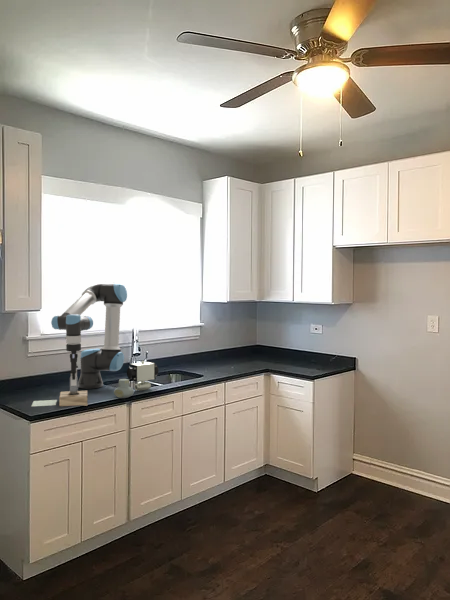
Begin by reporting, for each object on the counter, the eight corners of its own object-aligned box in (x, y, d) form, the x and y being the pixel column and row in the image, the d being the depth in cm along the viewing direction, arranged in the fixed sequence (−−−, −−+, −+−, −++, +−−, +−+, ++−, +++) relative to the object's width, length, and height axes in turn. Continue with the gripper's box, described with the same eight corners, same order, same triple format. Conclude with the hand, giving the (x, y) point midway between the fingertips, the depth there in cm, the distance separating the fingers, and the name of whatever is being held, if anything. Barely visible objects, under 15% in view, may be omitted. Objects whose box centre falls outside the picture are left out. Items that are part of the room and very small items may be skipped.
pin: (70, 402, 270) (69, 376, 269) (77, 402, 271) (77, 376, 270) (69, 404, 266) (69, 378, 265) (77, 403, 267) (77, 377, 266)
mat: (33, 401, 270) (33, 401, 270) (57, 400, 273) (57, 399, 273) (31, 407, 259) (31, 406, 259) (55, 406, 262) (55, 405, 262)
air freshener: (111, 397, 282) (111, 379, 282) (121, 394, 289) (121, 377, 289) (126, 399, 277) (126, 381, 276) (136, 396, 284) (136, 379, 283)
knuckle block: (60, 400, 273) (60, 391, 273) (87, 399, 277) (87, 390, 277) (59, 407, 260) (59, 397, 259) (87, 405, 263) (87, 396, 263)
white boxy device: (151, 386, 311) (151, 358, 310) (158, 389, 304) (158, 360, 303) (125, 390, 299) (125, 361, 299) (132, 393, 293) (132, 363, 292)
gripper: (67, 340, 278) (67, 378, 279) (65, 346, 254) (65, 388, 255) (81, 340, 280) (81, 377, 281) (80, 346, 256) (81, 387, 257)
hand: (74, 382), depth 268 cm, fingers open, 13 cm apart
